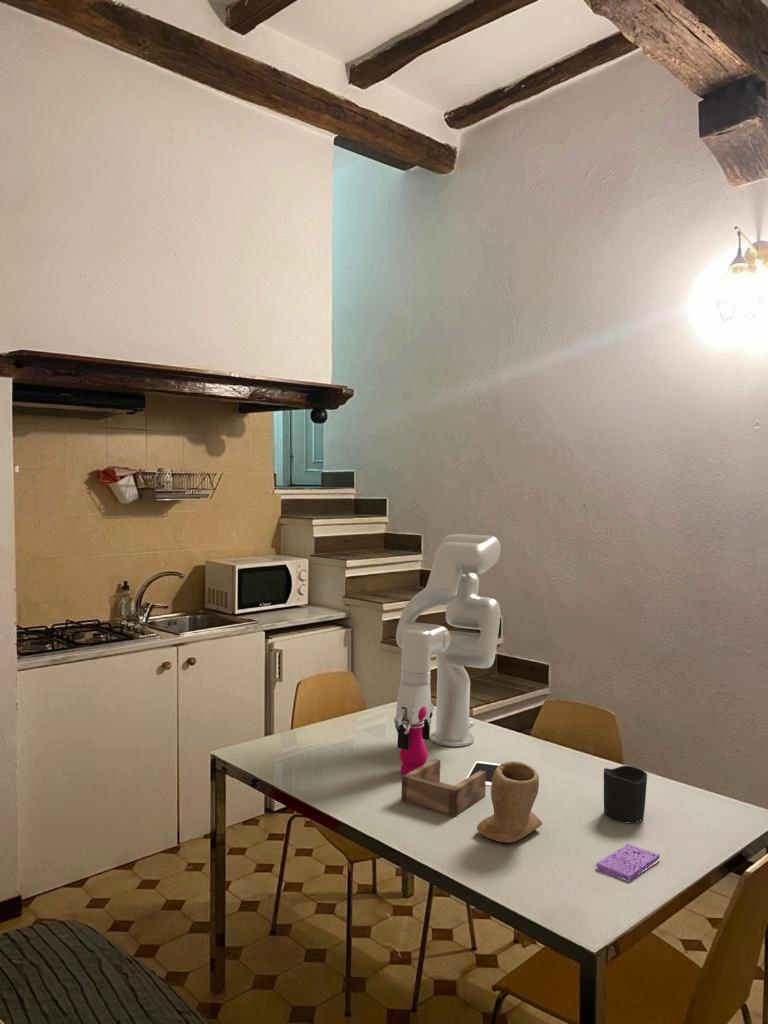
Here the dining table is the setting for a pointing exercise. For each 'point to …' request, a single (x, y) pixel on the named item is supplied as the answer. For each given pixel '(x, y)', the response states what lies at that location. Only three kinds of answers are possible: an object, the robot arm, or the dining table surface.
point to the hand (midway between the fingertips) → (413, 743)
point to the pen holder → (625, 793)
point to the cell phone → (486, 767)
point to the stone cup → (512, 803)
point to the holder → (441, 790)
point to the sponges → (627, 862)
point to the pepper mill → (414, 747)
